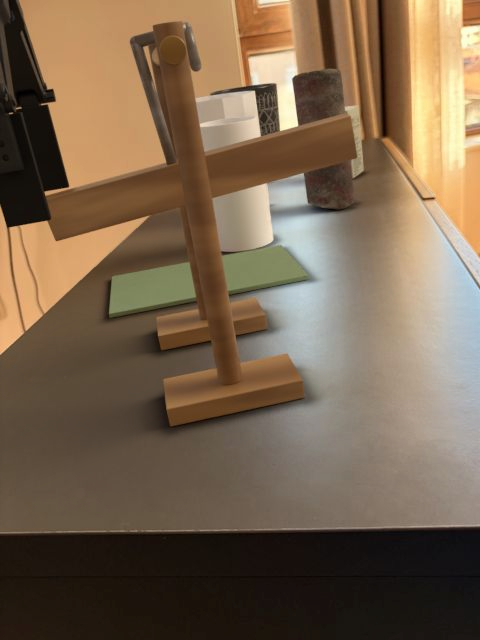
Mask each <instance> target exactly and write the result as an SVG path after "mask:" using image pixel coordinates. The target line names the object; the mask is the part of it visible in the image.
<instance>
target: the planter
mask: <svg viewBox="0 0 480 640" xmlns="http://www.w3.org/2000/svg"><path fill="white" fill-rule="evenodd" d="M243 91H255V96H256V103H257V111H258V118H259V126H260V133H261V136H264V135H268V134H271V133H275V132H279V131H281V123H280V122H281V121H280V109H279V98H278V97H279V96H278V84H277V83H276V82H269V83H259V84H252V85H244V86H238V87H233V88H232V87H231V88H226V89H222V90H216V91H212V92H210V93H209V96H212V95H219V94H226V93H234V92H243Z"/></svg>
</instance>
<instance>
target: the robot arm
mask: <svg viewBox="0 0 480 640" xmlns="http://www.w3.org/2000/svg"><path fill="white" fill-rule="evenodd" d="M56 102H57V98H56V93H55V90H54V88H48V85H47V82H45V80H44V77H43V74H42V71H41V67H40V63H39V60H38V58H37V55H36V52H35V49H34V45H33V42H32V39H31V36H30V33H29V30H28V26H27V24H26V19H25V16H24V10H23V8H22V6H21V3H20V0H0V210H1V212H2V216H3V219H4V222H5V227H6V229H9V228H16V227H19V226H20V227H21V226H26V225H31V224H36V223H43V222H47V221H49V220H51V218H52V217H51V214H50V210H49V207H48V203H47V199H46V193H45V192H51V191H56V190H62V189H63V190H64V189H68V188H69V189H70V183H69V179H68V175H67V170H66V168H65V163H64V161H63V156H62V152H61V148H60V144H59V141H58V137H57V133H56V130H55V125H54V122H53V118H52V114H51V110H50V107H49V104H51V103H56Z"/></svg>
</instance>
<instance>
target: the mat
mask: <svg viewBox="0 0 480 640" xmlns="http://www.w3.org/2000/svg"><path fill="white" fill-rule="evenodd" d="M222 259H223V265H224V271H225V277H226V283H227V289H228V295H229V296H231V295H235V294H241V293H245V292H250V291H256V290H261V289H266V288H271V287H276V286H281V285H286V284H292V283H296V282H301V281H307V280H309V279H310V278H309V274H308V273H307V272H306V271H305V270H304V269H303V268H302V266H301V265H300V264H299V263H298V262H297V260H295V259H294V258H293V256H291V254H290V253H289V252H288V251H287V249H285V247H284V246H283V245H282V244H278V245H273V246H268V247H267V246H266V247H260V248H256V249H252V250H246V251H239V252H233V253H230V254H224V255H222ZM110 283H111V284H110V295H109V308H108V316H109V318H110V319H113V318H116V317H122V316H127V315H132V314H137V313H143V312H149V311H154V310H157V309H158V310H159V309H163V308H168V307H173V306H178V305H184V304H189V303H195V302H197V300H196V294H195V289H194V284H193V279H192V273H191V268H190V263H189V261H186V262H181V263H177V264H176V263H175V264H171V265H165V266H160V267H155V268H150V269H143V270H139V271H138V270H137V271H135V272H127V273H124V274H123V273H122V274H118V275H112V276H111V282H110Z"/></svg>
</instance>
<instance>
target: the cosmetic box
mask: <svg viewBox="0 0 480 640" xmlns="http://www.w3.org/2000/svg"><path fill="white" fill-rule="evenodd" d="M344 106H345V105H344ZM345 113H346V114H348V115H350V116H351V119H352V125H353V131H354V138H355V144H356V150H357V158H356V159H353V160H350V162H351V169H352V179H355V178H356V177H357V176H359V175H360V174H362V173H363V172H364V169H365V168H364V158H363V157H364V156H363V145H362V144H363V143H362V130H361V117H360V105H359V104H357V105H347V106H345Z"/></svg>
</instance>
